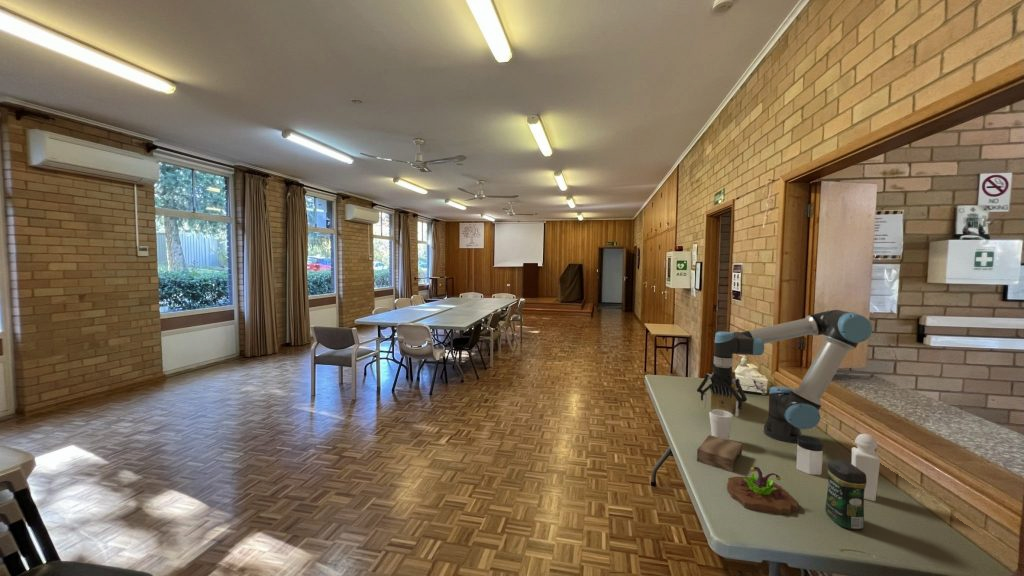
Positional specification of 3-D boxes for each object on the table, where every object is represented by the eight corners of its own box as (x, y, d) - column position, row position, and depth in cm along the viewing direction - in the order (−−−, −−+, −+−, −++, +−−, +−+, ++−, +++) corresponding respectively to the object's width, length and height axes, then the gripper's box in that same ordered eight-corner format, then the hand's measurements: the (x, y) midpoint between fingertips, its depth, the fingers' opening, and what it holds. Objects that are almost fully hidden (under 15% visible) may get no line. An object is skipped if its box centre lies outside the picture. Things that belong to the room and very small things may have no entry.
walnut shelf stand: (741, 455, 168) (742, 443, 168) (732, 472, 154) (732, 459, 154) (708, 446, 176) (709, 435, 176) (696, 461, 163) (697, 449, 162)
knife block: (706, 414, 213) (708, 358, 211) (717, 397, 242) (718, 347, 240) (730, 419, 207) (732, 361, 205) (738, 400, 235) (740, 349, 233)
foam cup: (734, 446, 176) (735, 418, 175) (712, 444, 178) (713, 416, 177) (727, 437, 185) (728, 410, 184) (706, 435, 187) (707, 408, 186)
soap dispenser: (877, 502, 135) (881, 440, 133) (852, 496, 138) (856, 435, 137) (873, 493, 140) (876, 433, 139) (849, 487, 144) (852, 429, 142)
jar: (827, 472, 154) (828, 442, 153) (815, 477, 151) (817, 446, 150) (802, 462, 162) (803, 433, 161) (790, 466, 159) (791, 437, 158)
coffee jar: (820, 510, 130) (823, 456, 129) (846, 512, 129) (849, 457, 128) (840, 530, 121) (844, 471, 119) (869, 532, 120) (873, 473, 119)
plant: (717, 480, 149) (718, 451, 148) (771, 483, 147) (773, 454, 146) (744, 514, 129) (745, 480, 128) (807, 517, 127) (809, 483, 127)
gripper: (691, 362, 185) (689, 406, 186) (752, 372, 168) (749, 421, 170) (696, 359, 190) (693, 402, 192) (756, 369, 174) (753, 416, 176)
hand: (720, 411), depth 181 cm, fingers open, 13 cm apart
